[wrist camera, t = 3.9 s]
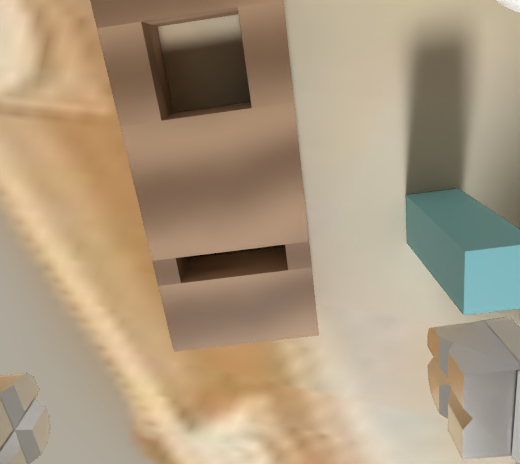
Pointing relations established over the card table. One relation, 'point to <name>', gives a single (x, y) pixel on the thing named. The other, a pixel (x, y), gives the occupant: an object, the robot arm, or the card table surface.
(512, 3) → the flower in vase
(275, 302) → the socket block
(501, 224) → the peg
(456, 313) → the card table surface
